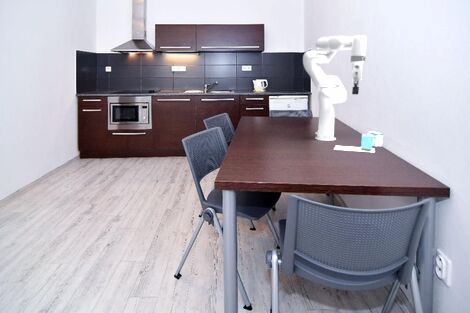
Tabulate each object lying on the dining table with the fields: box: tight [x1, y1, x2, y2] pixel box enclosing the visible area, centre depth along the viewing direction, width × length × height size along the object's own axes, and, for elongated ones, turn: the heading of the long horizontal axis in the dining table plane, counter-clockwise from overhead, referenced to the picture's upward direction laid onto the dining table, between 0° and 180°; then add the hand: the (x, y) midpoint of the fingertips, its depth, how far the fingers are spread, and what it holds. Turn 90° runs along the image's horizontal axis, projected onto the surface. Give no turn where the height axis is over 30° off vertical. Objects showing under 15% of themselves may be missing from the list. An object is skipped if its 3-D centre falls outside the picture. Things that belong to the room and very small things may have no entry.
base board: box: [333, 145, 376, 153], centre depth 199 cm, size 20×12×2 cm, turn 71°
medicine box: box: [366, 131, 384, 148], centre depth 209 cm, size 8×4×9 cm, turn 21°
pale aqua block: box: [360, 134, 373, 149], centre depth 196 cm, size 5×5×7 cm
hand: (355, 94), depth 207 cm, fingers closed
